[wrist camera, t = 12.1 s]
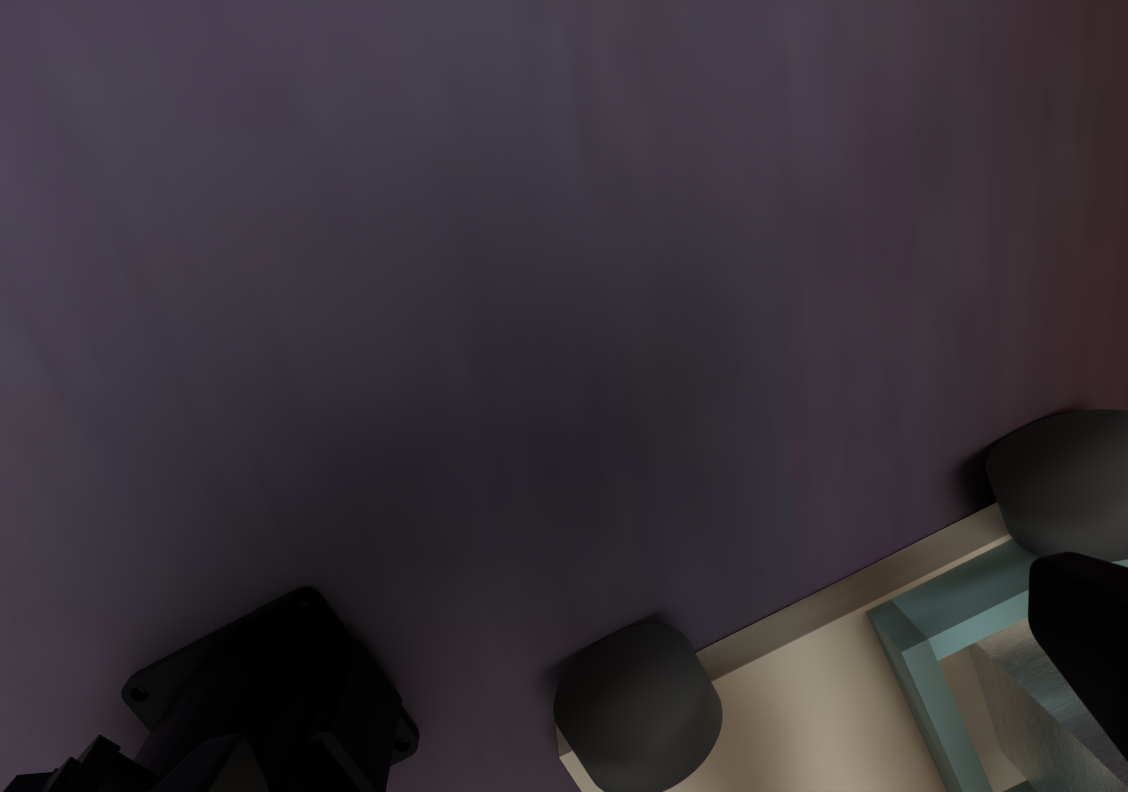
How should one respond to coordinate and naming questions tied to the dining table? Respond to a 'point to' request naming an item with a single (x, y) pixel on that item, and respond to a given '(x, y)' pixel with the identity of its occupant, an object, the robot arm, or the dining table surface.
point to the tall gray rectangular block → (1043, 717)
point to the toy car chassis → (856, 651)
